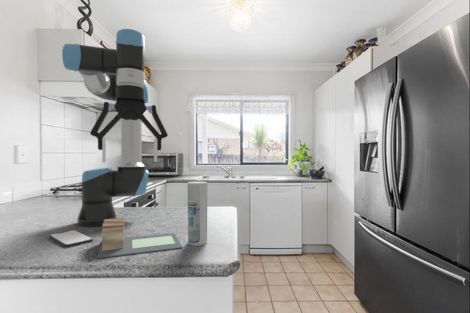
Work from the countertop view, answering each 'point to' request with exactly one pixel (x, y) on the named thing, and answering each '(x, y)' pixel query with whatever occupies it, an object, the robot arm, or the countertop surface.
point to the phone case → (70, 238)
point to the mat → (143, 245)
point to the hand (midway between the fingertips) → (130, 162)
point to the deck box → (113, 234)
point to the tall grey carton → (197, 213)
